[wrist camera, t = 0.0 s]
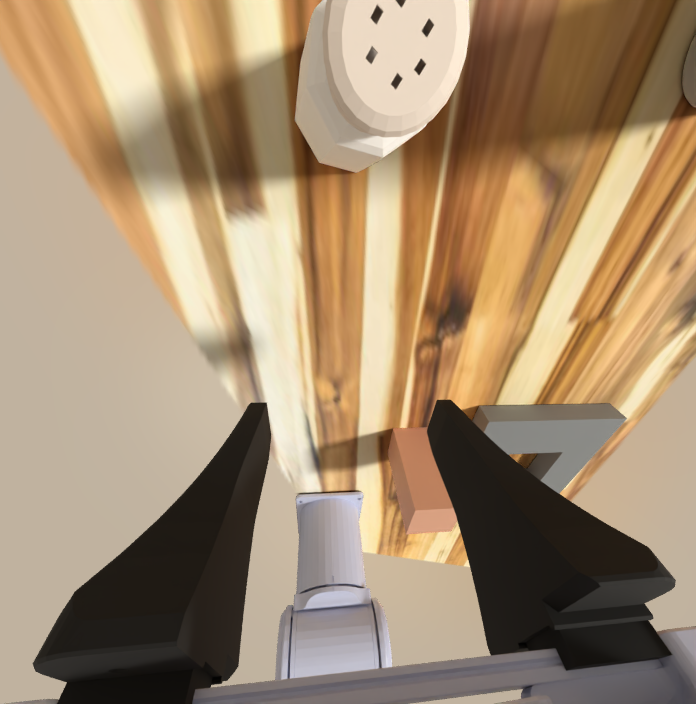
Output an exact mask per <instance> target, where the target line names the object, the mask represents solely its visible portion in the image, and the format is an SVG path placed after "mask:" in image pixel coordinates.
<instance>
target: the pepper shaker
mask: <svg viewBox="0 0 696 704" xmlns="http://www.w3.org/2000/svg"><path fill="white" fill-rule="evenodd" d="M469 32H470V21H469V0H322V1H321V3H320V4H319V5H318V6H317V7H316V8H315V10H314V12H313V14H312V16H311V20H310V24H309V28H308V33H307V37H306V41H305V45H304V50H303V54H302V58H301V62H300V71H299V82H298V92H297V102H296V112H295V121H296V123H297V125H298V127H299V128H300V130H301V132H302V134H303V135H304V137H305V139H306V141H307V142H308V144H309V146H310V148H311V149H312V151H313V153H314V155H315V156H316V158H317V160H318V162H319V163H322V164H326V165H329V166H333V167H337V168H340V169H344V170H348V171H352V172H355V173H358V172H360V171H361V170H363V169H365V168H367V167H369V166H371V165H373V164H375V163H376V162H378V161H380V160H381V159H382V158H383V157H385V156H386V155H388V154H389V153H391V152H392V151H394V150H395V149H396V148H398V147H399V146H400V145H402V144H403V143H405V142H406V141H407V140H409V139H410V138H411V137H413V136H414V135H415V134H417V133H418V132H419V131H421V130H422V129H423V128H424V127H425V126H426V125H427V123H428V122H430V121H431V120H432V119H433V118H434V117H435V116H436V115H437V113H438V112H439V111H440V110H441V109H442V108H443V106H444V105H445V104H446V103H447V101H448V99H449V97H450V95H451V94H452V92H453V90H454V88H455V86H456V84H457V83H458V80H459V77H460V74H461V71H462V68H463V65H464V61H465V58H466V53H467V46H468V39H469Z"/></svg>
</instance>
